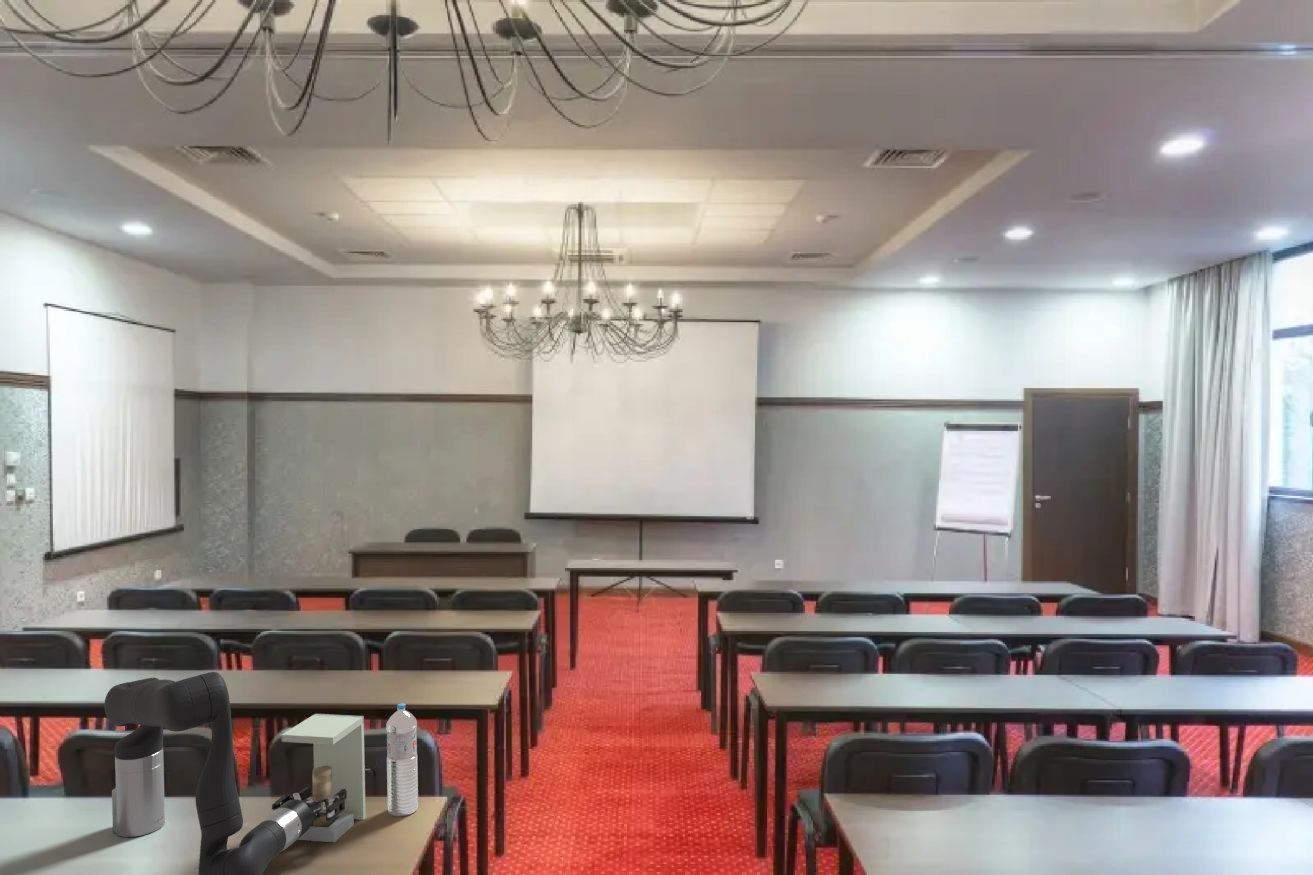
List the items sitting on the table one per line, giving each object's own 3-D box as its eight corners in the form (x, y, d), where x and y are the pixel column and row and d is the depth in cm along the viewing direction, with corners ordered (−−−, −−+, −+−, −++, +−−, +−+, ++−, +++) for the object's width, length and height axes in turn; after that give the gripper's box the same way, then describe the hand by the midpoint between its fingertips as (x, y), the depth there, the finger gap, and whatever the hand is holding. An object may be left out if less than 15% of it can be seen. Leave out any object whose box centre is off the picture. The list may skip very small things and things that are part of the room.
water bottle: (409, 818, 193) (407, 710, 192) (382, 816, 194) (380, 708, 194) (423, 805, 200) (421, 700, 199) (396, 802, 201) (395, 698, 200)
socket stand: (283, 842, 183) (281, 734, 182) (317, 814, 195) (315, 713, 195) (335, 846, 181) (333, 737, 180) (365, 817, 194) (363, 716, 193)
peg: (309, 835, 185) (308, 772, 185) (319, 827, 189) (318, 765, 189) (326, 837, 185) (325, 773, 184) (336, 828, 189) (335, 766, 188)
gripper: (315, 810, 171) (356, 777, 187) (251, 806, 174) (297, 773, 190) (316, 847, 172) (356, 810, 188) (252, 842, 174) (297, 806, 190)
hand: (326, 791), depth 189 cm, fingers open, 8 cm apart
